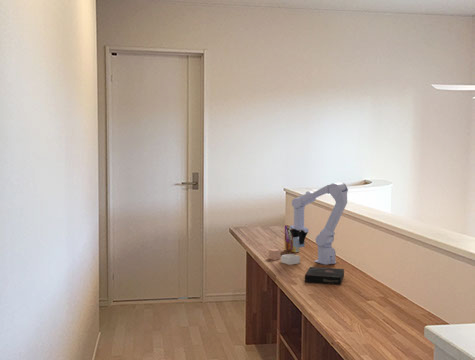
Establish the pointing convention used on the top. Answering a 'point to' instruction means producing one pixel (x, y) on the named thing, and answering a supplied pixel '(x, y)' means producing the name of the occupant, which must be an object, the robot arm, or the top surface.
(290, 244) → the candy box
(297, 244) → the slate cube
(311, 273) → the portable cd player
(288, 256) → the white block
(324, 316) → the top surface
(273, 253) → the terracotta block
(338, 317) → the top surface
